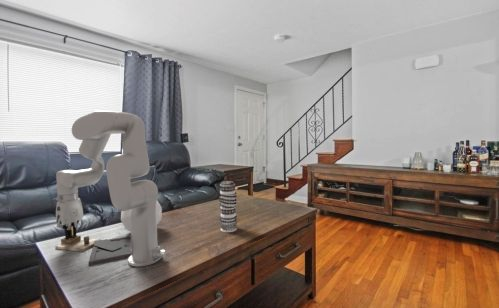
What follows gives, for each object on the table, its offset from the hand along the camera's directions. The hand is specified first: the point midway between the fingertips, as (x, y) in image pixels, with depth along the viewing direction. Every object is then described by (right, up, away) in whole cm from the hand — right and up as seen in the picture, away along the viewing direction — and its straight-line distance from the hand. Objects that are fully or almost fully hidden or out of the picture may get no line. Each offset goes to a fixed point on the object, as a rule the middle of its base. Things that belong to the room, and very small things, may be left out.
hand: (70, 236), depth 115 cm
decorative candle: (+71, -2, +16) cm, 73 cm away
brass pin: (0, -2, 0) cm, 2 cm away
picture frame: (+23, -4, -6) cm, 24 cm away
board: (+4, -4, -1) cm, 6 cm away
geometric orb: (+27, -2, +15) cm, 31 cm away
